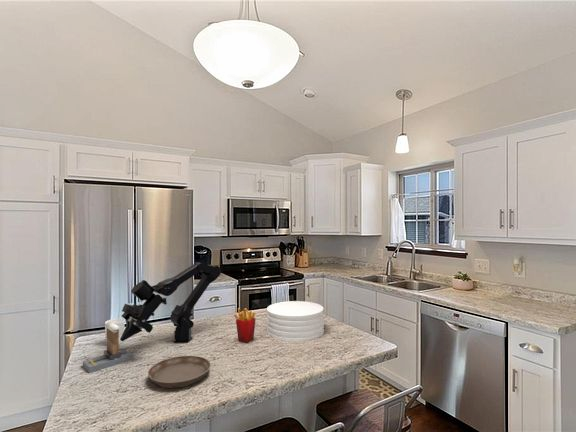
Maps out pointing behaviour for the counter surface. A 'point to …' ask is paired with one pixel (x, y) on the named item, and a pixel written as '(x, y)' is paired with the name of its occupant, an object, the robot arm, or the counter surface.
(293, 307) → the plate stack
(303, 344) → the counter surface
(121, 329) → the white cup
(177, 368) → the plant saucer
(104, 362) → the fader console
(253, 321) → the french fries
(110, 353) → the slide lever
